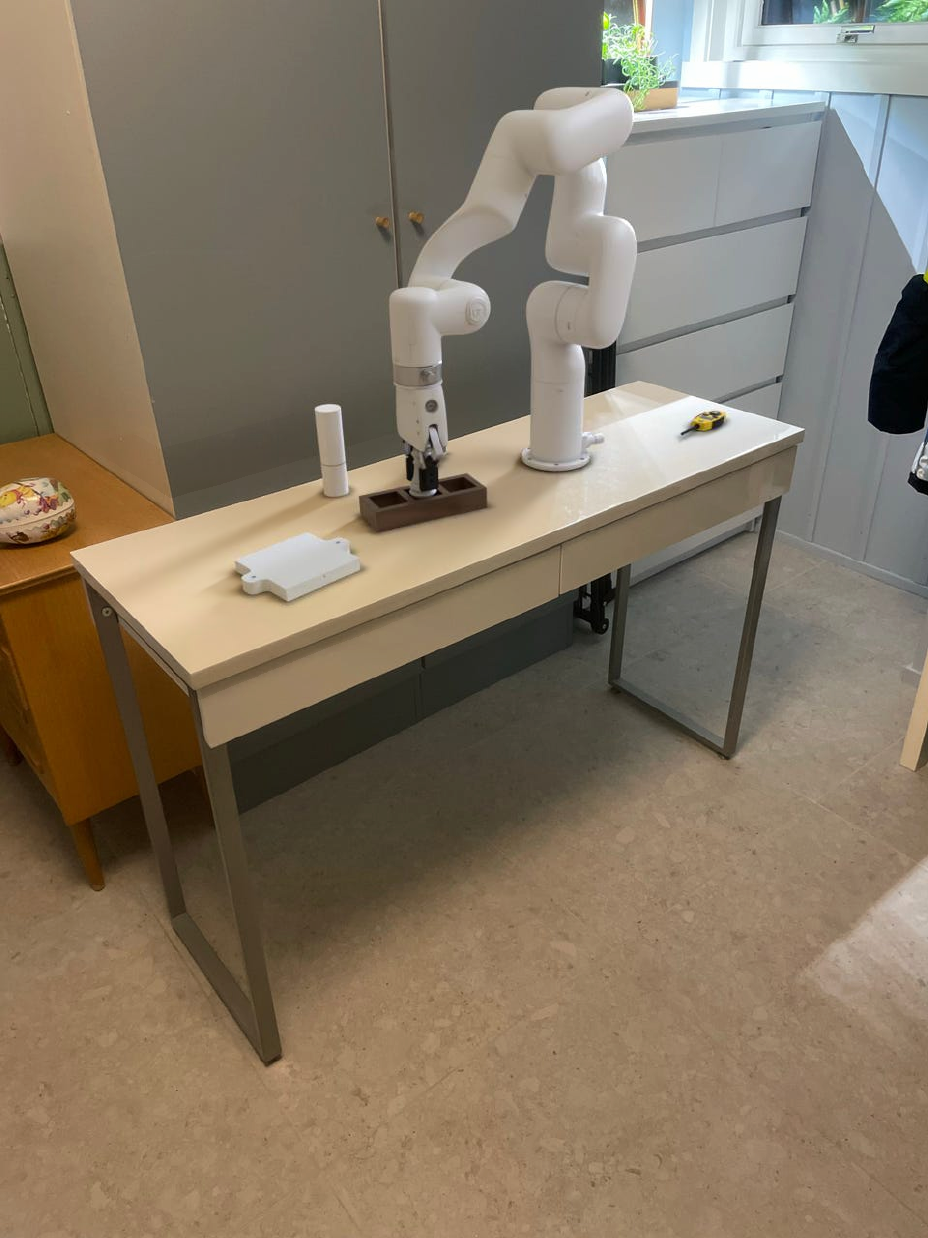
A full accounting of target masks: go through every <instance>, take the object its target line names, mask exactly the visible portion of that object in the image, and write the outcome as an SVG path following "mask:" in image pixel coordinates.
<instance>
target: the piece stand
mask: <svg viewBox="0 0 928 1238" xmlns="http://www.w3.org/2000/svg"><path fill="white" fill-rule="evenodd" d="M409 491H410V487H409V485H405V486H404V485H403V486H399V487H395V488H389V489H386V490H381V491H376V492H372V493H367V494H363V495H359V496H358V504H359V514H360V517H361V518H362V519H363V520H364V521H365V522H366V523H367V524H368V525H369V526H370V527H371V528H372V529H373V530H374V531H375V532H376V533H381V532H386V531H390V530H394V529H398V528H399V529H400V528H403V527H408V526H412V525H416V524H420V523H424V522H428V521H433V520H438V519H441V518H447V517H450V516H455V515H459V514H463V513H467V512H472V511H477V510H481V509H484V508H488V487H486V486H485V485H484V484H482V483H481V482H480V481H478V480H477V479H476V478H474V477H473V476H471V475H470V474H469V473H467V472H466V473H460V474H456V475H452V476H447V477H446V476H445V477H441V478H439V488H438V489H436V492H435V494H434V495H433V496H431V497H428V498H416V497H413V496H412V495H411V494H410V492H409Z"/></svg>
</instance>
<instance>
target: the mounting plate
mask: <svg viewBox="0 0 928 1238" xmlns="http://www.w3.org/2000/svg"><path fill="white" fill-rule="evenodd" d="M350 548H351V547H350V541H349V540H348V539H346V538H344V537H334V538H332V539H328V540H324V539H322V538H320V537H318V536H316V535H314V534H312V533H310V532H308V531H305V532H303V533H300V534H297V535H295V536H293V537H290V538H287V539H285V540H283V541H280V542H278V543H274V544H272V545H269V546H267V547H264V548H262V549H259V550H256V551H255V552H252V553H249V554H247V555H244V556H242V557H239V558H236V559H234V563H235V569H236V572H237V573H238V574H240V575H242V576H241V584H242V590H243V591H244V592H245V593H246V594H248V595H251V596H253V595H258V594H261V593H264V592H270V593H272V594H274V595H275V596H277V597H279V598H281V599H282V600H284V601H286V602H290V601H292V600H295V599H297V598H300V597H301V596H304V595H306V594H308V593H312V592H313V591H316V590H317V589H320V588H322V587H325V586H328V585H329V584H331V583H334V582H336V581H339V580H341V579H342V578H345V577H348V576H350V575H352V574H354V573H356V572H359V571H361V559H360V557H359V556H356V555H355V554H353V553H351V549H350Z"/></svg>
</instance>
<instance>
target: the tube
mask: <svg viewBox="0 0 928 1238" xmlns="http://www.w3.org/2000/svg"><path fill="white" fill-rule="evenodd" d="M341 407H342V406H340V405H338V404H333V403H328V404H327V403H326V404H320V405H318V406H315V407H314V414H315V415H314V416H315V424H316V431H317V432H316V433H317V434H316V435H317V444H318V450H319V451H318V452H319V460H320V471H321V479H322V489H323V495H324V496H326V497H330V498H338V497H339V498H341V497H344V496H346V495H347V494H348V493H349V481H348V470H347V462H346V449H345V439H344V438H345V437H344V428H343V418H342V417H343V416H342V408H341Z"/></svg>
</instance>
